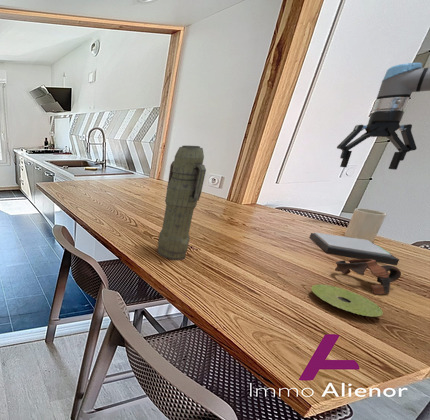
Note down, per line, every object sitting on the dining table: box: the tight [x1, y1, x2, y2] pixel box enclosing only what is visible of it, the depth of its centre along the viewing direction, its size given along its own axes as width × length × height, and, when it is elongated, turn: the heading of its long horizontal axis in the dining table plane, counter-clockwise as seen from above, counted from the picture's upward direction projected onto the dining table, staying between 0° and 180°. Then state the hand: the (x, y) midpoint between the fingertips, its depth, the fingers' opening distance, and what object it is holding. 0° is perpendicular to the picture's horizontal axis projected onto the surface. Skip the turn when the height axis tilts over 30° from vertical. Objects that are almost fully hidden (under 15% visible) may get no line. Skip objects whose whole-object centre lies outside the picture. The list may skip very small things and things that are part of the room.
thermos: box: [156, 145, 207, 261], centre depth 76 cm, size 9×12×35 cm
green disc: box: [310, 283, 384, 318], centre depth 58 cm, size 11×11×2 cm
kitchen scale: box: [309, 231, 400, 266], centre depth 85 cm, size 16×14×3 cm
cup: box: [343, 207, 387, 243], centre depth 93 cm, size 7×7×11 cm
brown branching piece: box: [334, 258, 402, 295], centre depth 66 cm, size 12×10×8 cm
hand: (367, 168), depth 97 cm, fingers open, 13 cm apart
